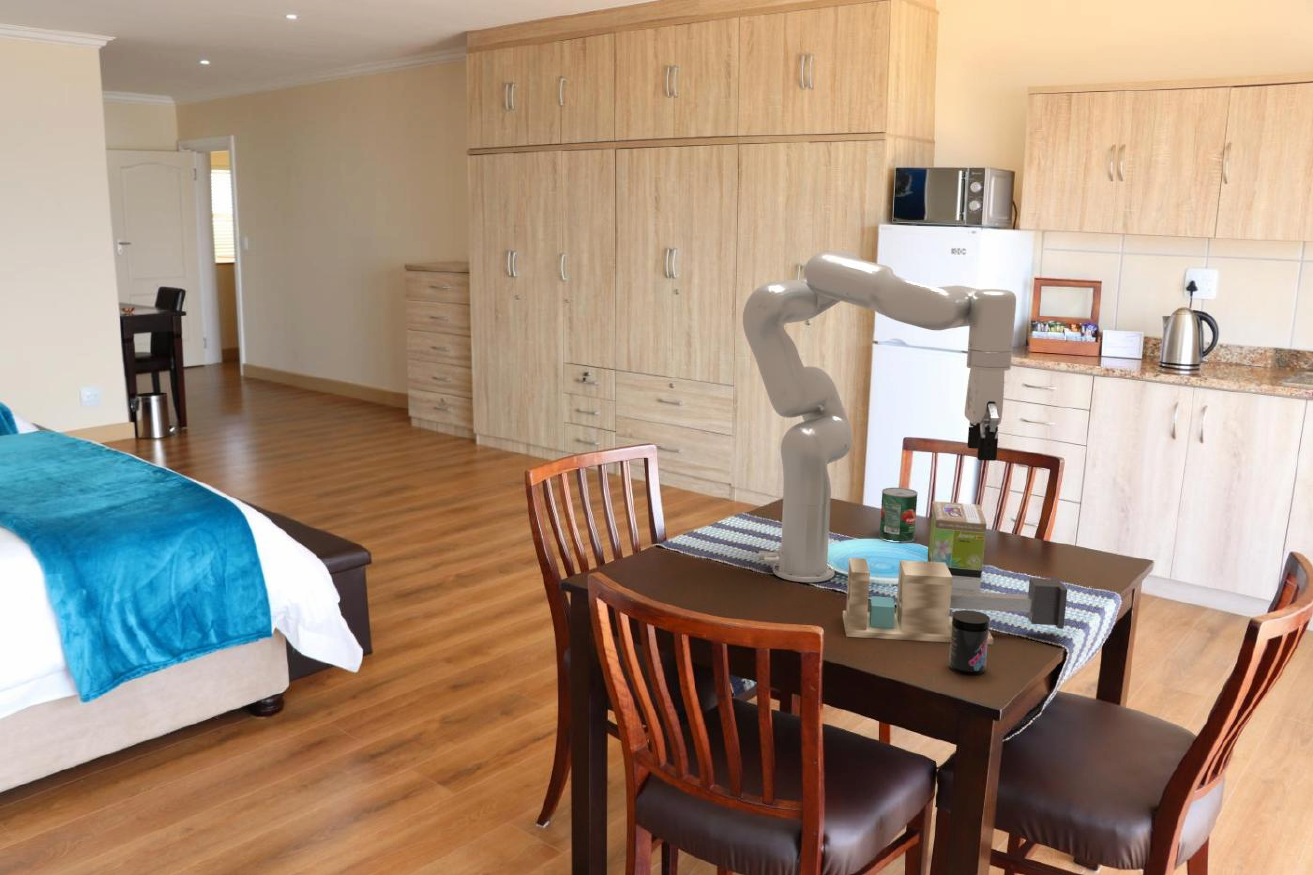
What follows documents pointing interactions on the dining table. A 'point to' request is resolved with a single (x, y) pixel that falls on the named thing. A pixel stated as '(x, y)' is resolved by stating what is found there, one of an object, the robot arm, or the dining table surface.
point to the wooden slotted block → (904, 603)
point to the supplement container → (969, 642)
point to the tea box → (958, 542)
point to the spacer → (882, 612)
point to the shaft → (1021, 601)
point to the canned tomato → (898, 514)
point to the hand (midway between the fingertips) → (981, 454)
